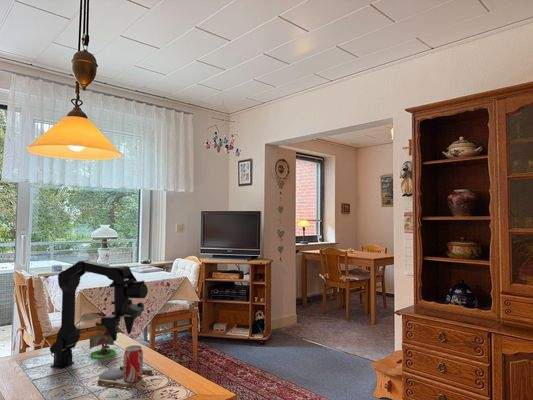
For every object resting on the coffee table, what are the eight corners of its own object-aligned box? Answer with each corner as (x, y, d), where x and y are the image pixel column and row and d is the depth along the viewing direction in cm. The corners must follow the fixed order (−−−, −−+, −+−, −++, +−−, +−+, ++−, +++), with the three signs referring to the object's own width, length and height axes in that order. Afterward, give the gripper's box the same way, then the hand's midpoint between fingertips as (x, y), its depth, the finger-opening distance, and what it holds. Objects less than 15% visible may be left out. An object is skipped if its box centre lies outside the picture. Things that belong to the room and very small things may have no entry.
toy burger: (123, 353, 173) (124, 320, 173) (96, 361, 163) (97, 326, 164) (111, 347, 180) (112, 315, 181) (84, 354, 171) (85, 320, 171)
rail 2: (119, 370, 154) (119, 366, 154) (121, 369, 155) (121, 365, 155) (150, 374, 150) (150, 370, 150) (152, 373, 151) (152, 369, 152)
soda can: (136, 384, 141) (137, 351, 142) (119, 382, 143) (120, 350, 143) (145, 376, 148) (146, 345, 149) (129, 374, 150) (130, 344, 150)
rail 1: (97, 384, 141) (97, 380, 141) (99, 382, 142) (100, 378, 142) (130, 388, 138) (130, 384, 138) (132, 387, 139) (132, 383, 139)
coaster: (93, 379, 145) (93, 378, 145) (110, 369, 155) (110, 368, 155) (115, 382, 143) (116, 381, 143) (131, 372, 152) (131, 371, 152)
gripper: (124, 303, 142) (125, 345, 141) (152, 293, 160) (152, 331, 159) (99, 302, 144) (99, 344, 143) (128, 293, 162) (129, 330, 161)
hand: (122, 337), depth 152 cm, fingers open, 9 cm apart
